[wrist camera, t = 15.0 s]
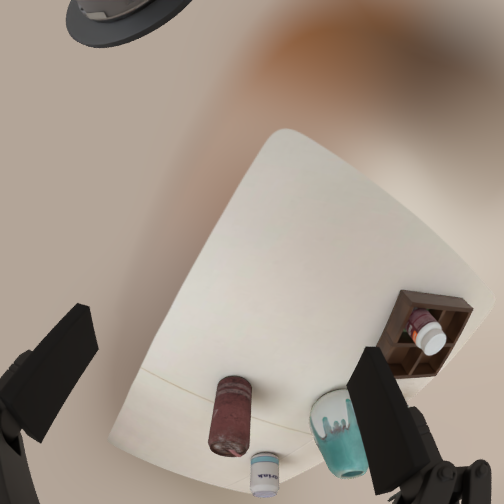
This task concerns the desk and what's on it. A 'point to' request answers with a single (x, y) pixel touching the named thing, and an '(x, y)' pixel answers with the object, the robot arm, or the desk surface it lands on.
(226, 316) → the desk surface
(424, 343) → the pill bottle
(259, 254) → the desk surface
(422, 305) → the holder
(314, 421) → the vase
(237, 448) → the red cylinder
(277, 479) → the beverage can
